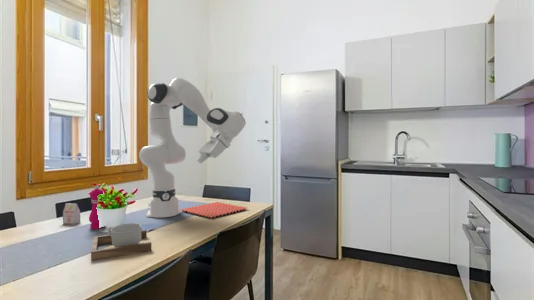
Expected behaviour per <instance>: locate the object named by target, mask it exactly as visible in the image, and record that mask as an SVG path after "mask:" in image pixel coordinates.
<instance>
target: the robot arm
mask: <svg viewBox="0 0 534 300" xmlns="http://www.w3.org/2000/svg"><path fill="white" fill-rule="evenodd" d="M146 93H147V98H148V100H149V101H150V102H151V103H150V105H149V113H148V114H149V115H148V116H149V117H148V119H149V128H150V129H149V130H150V135H151V136H152V137H153V138H154V139H156V140H158V141H159V143H160V144H151V145H147V146H143V147H142V148H141V149H140V151H139V155H138V156H139V160H140V162H141V163H142V164H143V165H145V166H146V167H147V168H148V169H149V171H150V173H151V176H152V183H153V187H152V188H153V189H152V199H150V201H149V202H148V211H147V213H146V215H145V216H146V218H156V219H159V218H170V217H174V216H177V215H179V214H182V213H183V212H182V210H181V209H180V208H179V198H178V197H176V188H175V175H174V174H173V173H172V172H171V171H169V170H167V169H166V165H175V164H176V165H177V164H179V163H182V162H184V160H185V159H186V150H185V148H184V147H183V145H181V144H180V143H179V142H178V141H177V140H176V138H175V136H174V133H173V131H172V122H171V115H170V114H171V113H170V111H171V109H173V110H176V109H178V108H179V107H181V106H185V107H187V109H189V110H190V111H191V112H193V113H194V114H195V115H197V116H198V117H199V118H200V119H201V120H202V121H204V123H205V124H206V125H207V126H208V127H209V128H210V129H211V130H212V134H211V135H210V136H209V137H210V140H209V141H207V142H206V143H205V144H204V145H202V147H201V148H199V150H198V154H199V155H200V157H199V158H198V159H197V160H196V161H197V163H199V164H203V162H205V161H206V160H208V159H209V158H213V159H216V158H218V157H219V156H220V155H221V154H222V153H223V152H224V151H225V150H226V149H228V148H230V146H231V143H232V142H233V140H234V138H236V137H237V136H238V135H240V133H241V132H242V131H243V130H244V128H245V127H246V120H245V119H246V118H244V116H243V115H242V114H241V113H240V112H238V111H227V110H225V109H222V108H220V107H214V108H213V109H212V108H211V109H210V108H209V106H208V104H207V102H206V100H205V98H204V96H203V94H202V92H201V91H200V90H199V89H198V88H197V87H196V86H195V85H194V84H193V83H191V82H190V81H188V80H186V79H184V78H182V77H176V78H174V79H172V81H171V82H170V84H166V83H163V82H162V83H161V82H160V83H159V82H158V83H153V84H151V85H150V86H149V87H148V89H147V92H146ZM180 210H181V211H180Z"/></svg>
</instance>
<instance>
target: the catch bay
mask: <svg viewBox="0 0 534 300" xmlns="http://www.w3.org/2000/svg"><path fill="white" fill-rule="evenodd" d="M147 234H148V233H147V229H143V230H142V229H141V239H146V238H147V236H148V235H147ZM106 244H112V237H110V235H109V234H103V235H95V236H93V239H92V244H91V251H90V260H91V262H93V261H98V260H102V259H110V258H117V257H122V256H128V255H129V256H130V255H134V254H141V253H147V252H152V251H153V250H152V241H146V242H142V243H139V244H133V245H126V246H119V247H114V246H112V247H108V248H107V247H106V248H99V246H100V245H106Z"/></svg>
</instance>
